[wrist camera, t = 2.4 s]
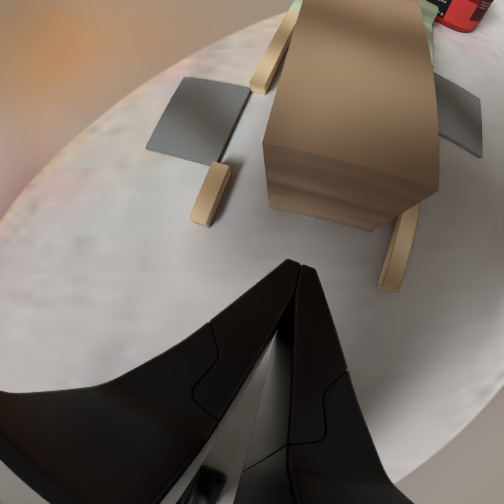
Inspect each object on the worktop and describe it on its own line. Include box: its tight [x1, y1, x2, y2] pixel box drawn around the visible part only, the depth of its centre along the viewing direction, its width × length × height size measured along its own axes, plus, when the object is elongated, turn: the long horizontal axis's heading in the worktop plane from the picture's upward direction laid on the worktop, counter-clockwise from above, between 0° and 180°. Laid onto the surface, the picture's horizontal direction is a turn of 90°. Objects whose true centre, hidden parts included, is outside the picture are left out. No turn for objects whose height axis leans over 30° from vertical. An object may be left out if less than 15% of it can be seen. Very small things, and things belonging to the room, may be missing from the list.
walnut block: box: [262, 0, 439, 232], centre depth 13 cm, size 14×6×8 cm, turn 166°
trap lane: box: [145, 0, 482, 293], centre depth 16 cm, size 25×22×3 cm
